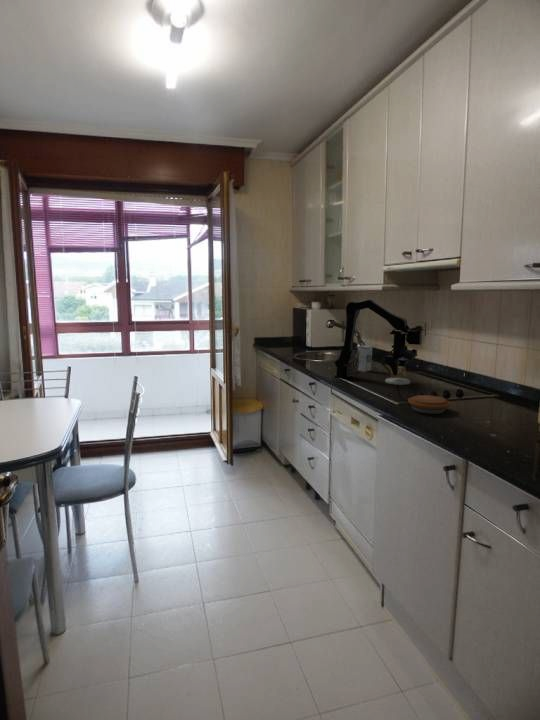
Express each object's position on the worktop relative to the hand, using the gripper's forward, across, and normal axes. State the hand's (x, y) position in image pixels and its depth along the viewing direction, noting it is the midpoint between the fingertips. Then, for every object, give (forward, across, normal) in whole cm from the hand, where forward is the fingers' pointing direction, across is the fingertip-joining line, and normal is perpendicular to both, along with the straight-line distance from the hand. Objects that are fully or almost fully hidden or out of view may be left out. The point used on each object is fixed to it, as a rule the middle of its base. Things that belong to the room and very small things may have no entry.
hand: (397, 374), depth 224 cm
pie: (+4, -39, -35) cm, 53 cm away
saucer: (+4, 0, 0) cm, 4 cm away
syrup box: (+4, +16, +30) cm, 34 cm away
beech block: (+1, 0, 0) cm, 1 cm away
